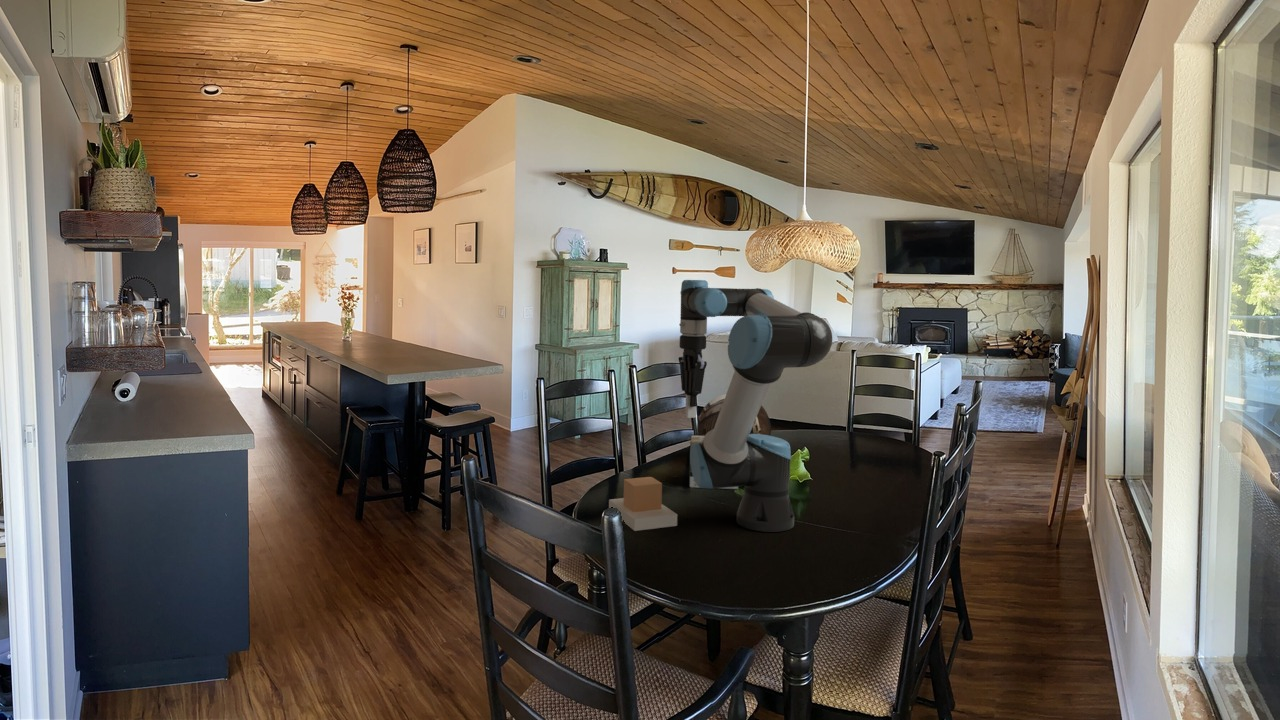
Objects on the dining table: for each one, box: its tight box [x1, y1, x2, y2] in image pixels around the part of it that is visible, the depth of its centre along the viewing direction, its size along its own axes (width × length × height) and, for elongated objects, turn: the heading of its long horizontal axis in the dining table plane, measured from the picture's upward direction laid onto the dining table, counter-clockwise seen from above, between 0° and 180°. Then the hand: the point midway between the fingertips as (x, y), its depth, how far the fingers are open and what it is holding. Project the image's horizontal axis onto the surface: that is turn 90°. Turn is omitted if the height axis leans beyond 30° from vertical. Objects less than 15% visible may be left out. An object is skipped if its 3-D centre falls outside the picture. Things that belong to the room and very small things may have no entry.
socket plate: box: [608, 497, 678, 532], centre depth 205 cm, size 18×12×3 cm, turn 24°
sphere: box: [696, 393, 772, 436], centre depth 261 cm, size 25×25×25 cm
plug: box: [623, 476, 663, 512], centre depth 204 cm, size 7×8×10 cm
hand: (690, 417), depth 219 cm, fingers closed
